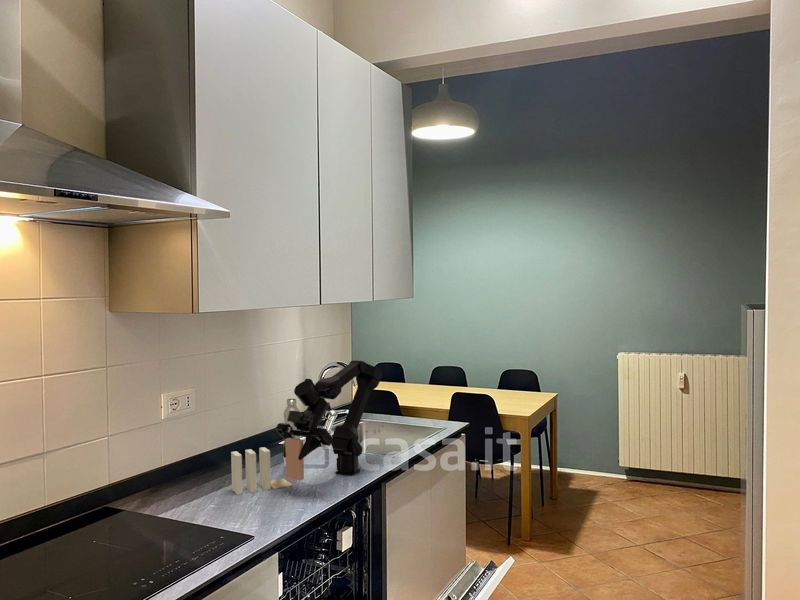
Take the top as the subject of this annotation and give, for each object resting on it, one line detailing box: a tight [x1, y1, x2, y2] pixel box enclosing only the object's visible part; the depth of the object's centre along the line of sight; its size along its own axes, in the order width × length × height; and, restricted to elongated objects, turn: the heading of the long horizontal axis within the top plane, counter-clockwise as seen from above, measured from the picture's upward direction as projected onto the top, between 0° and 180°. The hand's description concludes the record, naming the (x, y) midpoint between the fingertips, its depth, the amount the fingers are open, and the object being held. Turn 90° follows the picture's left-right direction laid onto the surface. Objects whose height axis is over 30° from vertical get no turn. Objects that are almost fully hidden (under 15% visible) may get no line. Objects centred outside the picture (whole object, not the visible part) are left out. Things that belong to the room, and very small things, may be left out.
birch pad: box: [271, 478, 293, 490], centre depth 204 cm, size 6×8×1 cm
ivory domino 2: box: [244, 448, 258, 493], centre depth 199 cm, size 2×6×12 cm, turn 30°
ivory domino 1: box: [230, 451, 243, 496], centre depth 197 cm, size 2×6×12 cm, turn 30°
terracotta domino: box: [284, 438, 305, 482], centre depth 192 cm, size 2×6×12 cm, turn 59°
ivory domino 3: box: [258, 446, 272, 491], centre depth 202 cm, size 2×6×12 cm, turn 30°
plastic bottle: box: [283, 398, 301, 445], centre depth 244 cm, size 6×7×20 cm
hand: (291, 458), depth 191 cm, fingers closed on terracotta domino, 5 cm apart
